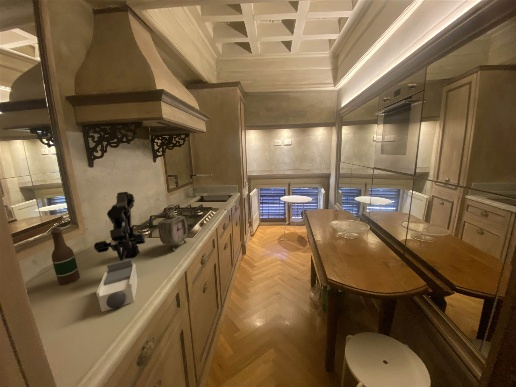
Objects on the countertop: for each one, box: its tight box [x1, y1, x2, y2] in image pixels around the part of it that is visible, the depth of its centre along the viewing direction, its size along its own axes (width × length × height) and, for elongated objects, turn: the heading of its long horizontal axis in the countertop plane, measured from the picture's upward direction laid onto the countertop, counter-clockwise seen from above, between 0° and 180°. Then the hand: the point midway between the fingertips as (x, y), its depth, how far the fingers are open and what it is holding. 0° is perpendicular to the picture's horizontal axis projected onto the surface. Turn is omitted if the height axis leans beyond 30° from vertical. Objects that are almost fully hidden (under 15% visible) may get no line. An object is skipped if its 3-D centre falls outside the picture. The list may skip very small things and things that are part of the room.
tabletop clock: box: [157, 204, 189, 252], centre depth 120 cm, size 14×9×25 cm, turn 164°
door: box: [105, 258, 133, 285], centre depth 85 cm, size 9×8×4 cm
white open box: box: [95, 263, 138, 312], centre depth 82 cm, size 17×10×8 cm, turn 25°
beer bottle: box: [50, 228, 81, 286], centre depth 93 cm, size 8×8×24 cm
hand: (121, 260), depth 92 cm, fingers closed
